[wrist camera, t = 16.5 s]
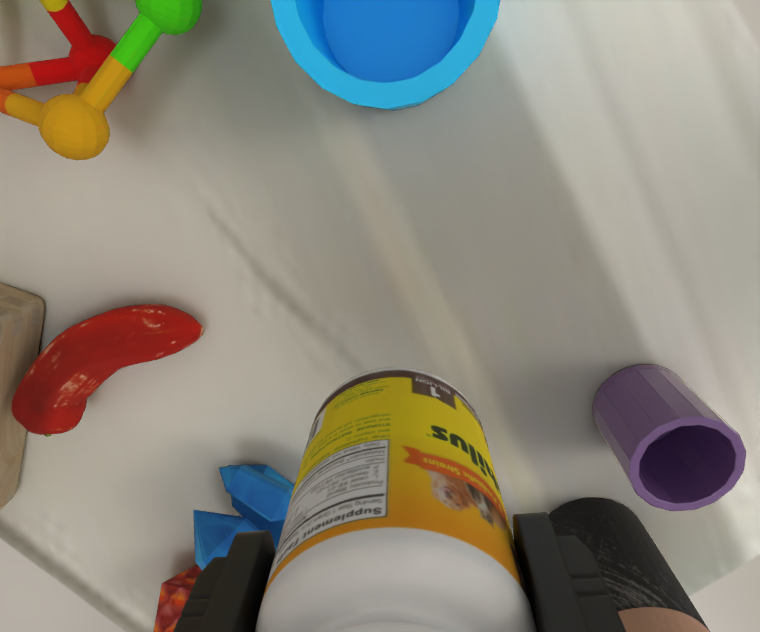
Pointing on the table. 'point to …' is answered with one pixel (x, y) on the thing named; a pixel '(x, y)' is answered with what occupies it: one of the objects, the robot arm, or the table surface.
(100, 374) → the vegetable
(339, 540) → the supplement bottle
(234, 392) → the table surface
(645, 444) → the cup
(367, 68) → the mug
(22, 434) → the pounding toy
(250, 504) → the crystal
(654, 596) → the travel mug
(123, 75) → the decorative model
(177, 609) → the red bumpy lump
